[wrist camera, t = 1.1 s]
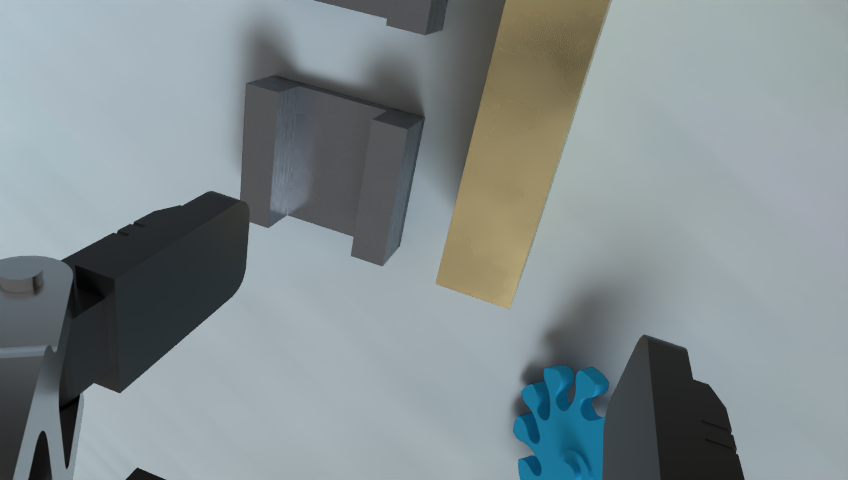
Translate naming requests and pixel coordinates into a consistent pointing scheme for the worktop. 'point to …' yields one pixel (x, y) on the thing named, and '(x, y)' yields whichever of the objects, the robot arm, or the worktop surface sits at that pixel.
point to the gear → (562, 427)
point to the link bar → (518, 142)
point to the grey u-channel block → (335, 149)
